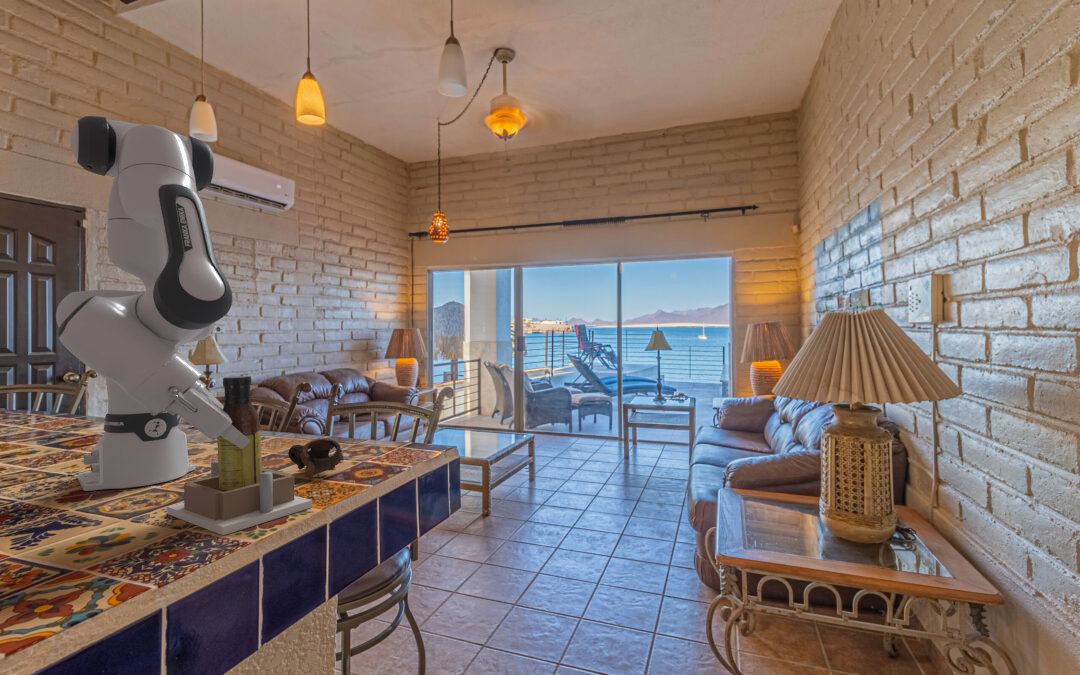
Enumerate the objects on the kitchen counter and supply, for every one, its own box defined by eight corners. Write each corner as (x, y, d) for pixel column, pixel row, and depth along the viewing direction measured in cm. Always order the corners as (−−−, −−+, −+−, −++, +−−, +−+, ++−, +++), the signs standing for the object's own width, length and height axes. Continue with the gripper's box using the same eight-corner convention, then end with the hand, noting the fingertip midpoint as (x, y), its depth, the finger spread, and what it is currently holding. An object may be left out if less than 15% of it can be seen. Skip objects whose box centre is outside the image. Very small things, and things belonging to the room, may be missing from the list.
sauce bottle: (244, 488, 86) (243, 374, 87) (271, 491, 84) (270, 374, 85) (208, 499, 80) (207, 377, 81) (236, 502, 78) (235, 377, 79)
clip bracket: (167, 513, 81) (167, 470, 81) (254, 491, 93) (253, 453, 93) (223, 535, 72) (222, 485, 72) (312, 507, 83) (311, 464, 84)
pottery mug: (349, 468, 112) (351, 439, 108) (330, 498, 103) (331, 468, 100) (297, 455, 111) (297, 426, 108) (273, 484, 103) (273, 454, 99)
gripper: (188, 374, 70) (267, 435, 76) (189, 368, 87) (253, 418, 92) (148, 408, 67) (232, 469, 73) (157, 396, 84) (225, 445, 90)
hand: (244, 440), depth 83 cm, fingers closed on sauce bottle, 6 cm apart
